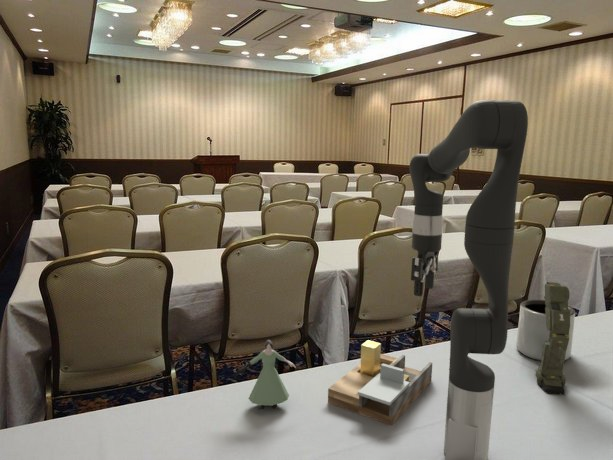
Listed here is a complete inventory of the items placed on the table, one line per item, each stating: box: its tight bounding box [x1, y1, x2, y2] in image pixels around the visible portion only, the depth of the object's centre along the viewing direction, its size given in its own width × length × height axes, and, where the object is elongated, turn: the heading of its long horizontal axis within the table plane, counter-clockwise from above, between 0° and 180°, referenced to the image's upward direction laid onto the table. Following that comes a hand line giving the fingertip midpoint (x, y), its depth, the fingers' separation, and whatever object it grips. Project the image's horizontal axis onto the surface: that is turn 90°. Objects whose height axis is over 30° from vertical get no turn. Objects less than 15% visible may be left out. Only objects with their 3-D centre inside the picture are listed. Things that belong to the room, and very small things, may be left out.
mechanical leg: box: [534, 281, 570, 396], centre depth 139 cm, size 14×7×30 cm, turn 168°
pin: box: [360, 339, 382, 377], centre depth 138 cm, size 4×4×10 cm
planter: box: [515, 299, 576, 362], centre depth 160 cm, size 16×16×16 cm
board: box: [327, 353, 433, 426], centre depth 135 cm, size 27×18×6 cm, turn 146°
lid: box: [358, 364, 410, 405], centre depth 125 cm, size 12×9×4 cm
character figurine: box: [234, 339, 297, 411], centre depth 126 cm, size 16×8×18 cm, turn 100°
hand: (423, 291), depth 132 cm, fingers open, 8 cm apart
